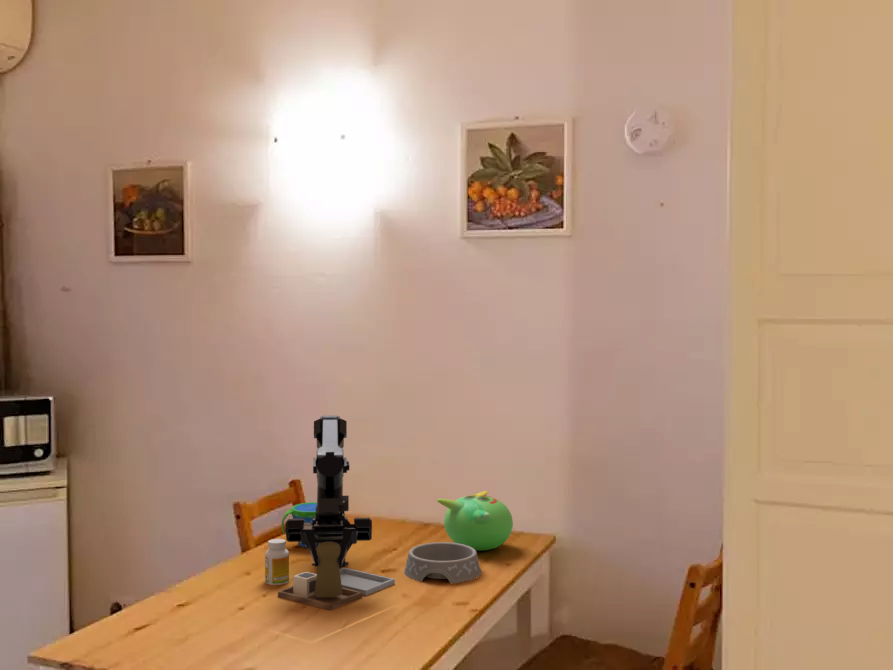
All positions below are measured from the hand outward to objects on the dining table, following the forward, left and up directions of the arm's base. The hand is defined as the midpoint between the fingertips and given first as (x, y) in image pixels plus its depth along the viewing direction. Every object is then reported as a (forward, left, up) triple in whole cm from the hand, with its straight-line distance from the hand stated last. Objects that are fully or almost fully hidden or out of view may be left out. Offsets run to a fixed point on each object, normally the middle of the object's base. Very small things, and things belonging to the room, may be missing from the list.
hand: (328, 564), depth 206 cm
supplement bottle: (-19, +4, -9) cm, 21 cm away
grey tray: (-3, +13, -8) cm, 15 cm away
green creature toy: (+3, +54, -9) cm, 54 cm away
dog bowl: (+7, +32, -9) cm, 34 cm away
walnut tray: (-3, +1, -8) cm, 9 cm away
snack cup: (-34, +32, -8) cm, 47 cm away
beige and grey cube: (-7, +1, -8) cm, 11 cm away
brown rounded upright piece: (-1, +1, -7) cm, 7 cm away
